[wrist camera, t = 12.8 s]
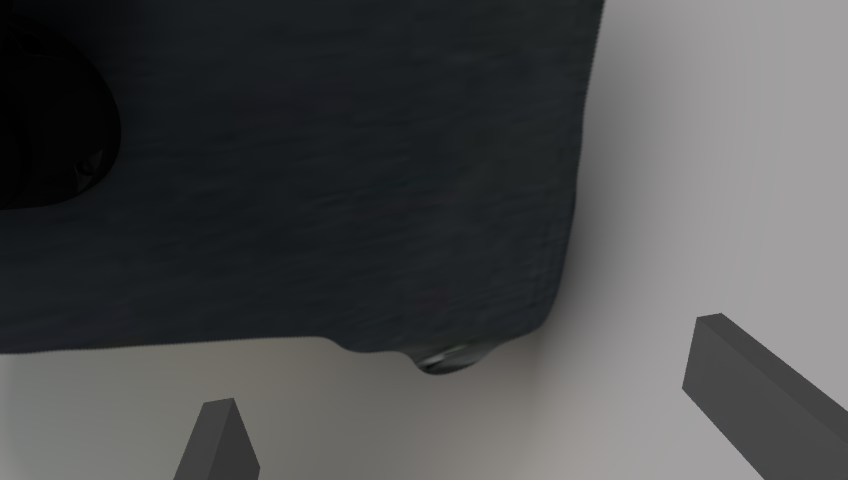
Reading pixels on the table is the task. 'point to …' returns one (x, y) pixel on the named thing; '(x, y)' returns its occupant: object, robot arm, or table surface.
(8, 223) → the table surface
